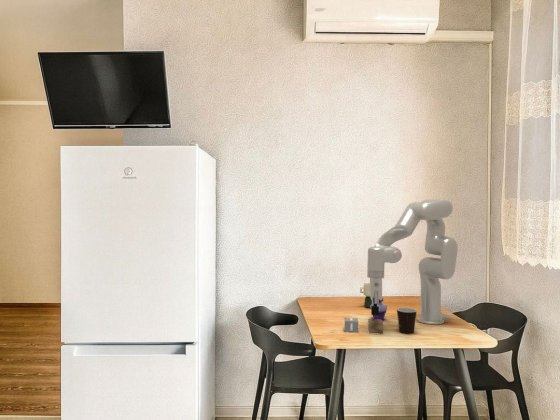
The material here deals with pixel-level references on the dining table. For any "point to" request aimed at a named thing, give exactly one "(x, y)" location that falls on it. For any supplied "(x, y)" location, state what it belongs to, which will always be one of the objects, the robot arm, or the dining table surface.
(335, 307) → the dining table surface
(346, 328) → the marked slate block
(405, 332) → the coffee mug
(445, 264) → the robot arm
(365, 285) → the character mug
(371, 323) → the walnut block
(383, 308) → the potion bottle
